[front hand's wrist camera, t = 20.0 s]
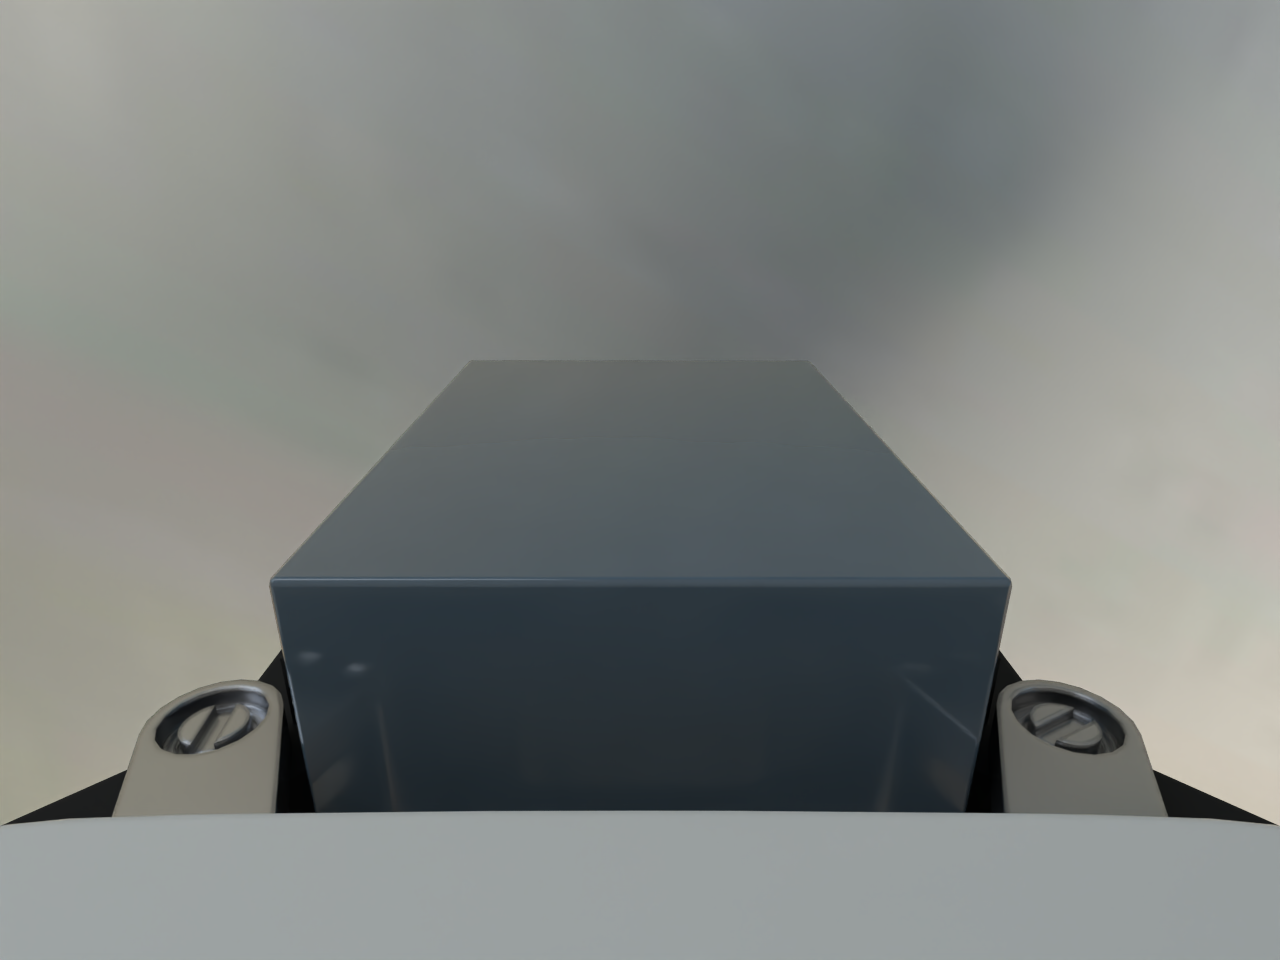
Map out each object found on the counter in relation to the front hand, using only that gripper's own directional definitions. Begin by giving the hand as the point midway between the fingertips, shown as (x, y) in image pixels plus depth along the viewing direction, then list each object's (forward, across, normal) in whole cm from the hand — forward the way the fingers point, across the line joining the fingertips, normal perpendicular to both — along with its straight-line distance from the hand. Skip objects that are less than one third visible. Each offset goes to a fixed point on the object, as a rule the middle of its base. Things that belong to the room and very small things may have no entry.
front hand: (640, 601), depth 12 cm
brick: (+3, 0, 0) cm, 3 cm away
